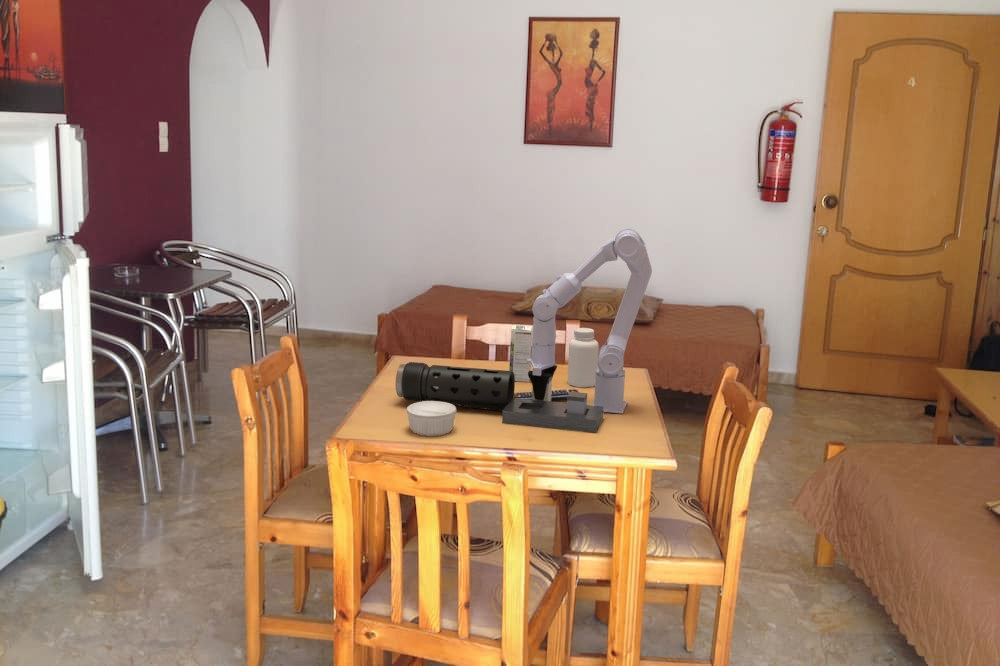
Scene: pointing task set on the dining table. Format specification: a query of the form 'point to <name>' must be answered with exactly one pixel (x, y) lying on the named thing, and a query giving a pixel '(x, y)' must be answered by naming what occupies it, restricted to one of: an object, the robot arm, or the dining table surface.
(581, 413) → the twin plug
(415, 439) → the dining table surface
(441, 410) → the ramekin
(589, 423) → the block
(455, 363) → the dining table surface
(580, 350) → the pill bottle
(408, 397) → the muzzle brake
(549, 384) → the plug
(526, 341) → the syrup box
